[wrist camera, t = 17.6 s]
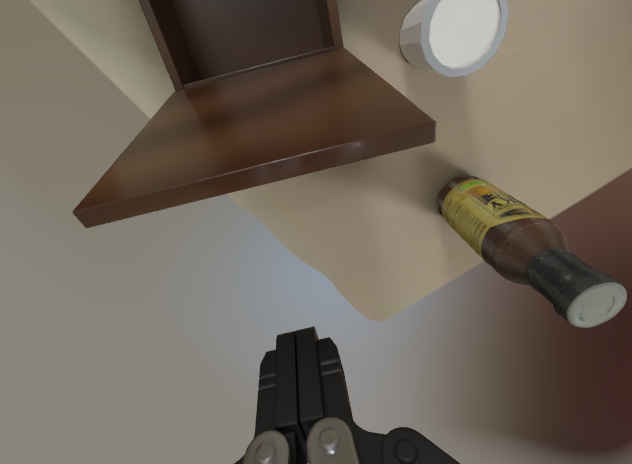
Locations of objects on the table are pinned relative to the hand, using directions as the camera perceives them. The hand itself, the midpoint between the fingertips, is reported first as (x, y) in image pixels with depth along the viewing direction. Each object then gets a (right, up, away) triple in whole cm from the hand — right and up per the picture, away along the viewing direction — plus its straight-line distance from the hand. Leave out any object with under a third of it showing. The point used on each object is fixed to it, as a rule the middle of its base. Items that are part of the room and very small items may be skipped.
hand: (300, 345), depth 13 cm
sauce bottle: (+18, +9, +26) cm, 33 cm away
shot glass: (+11, +23, +18) cm, 31 cm away
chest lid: (-3, +12, +5) cm, 13 cm away
